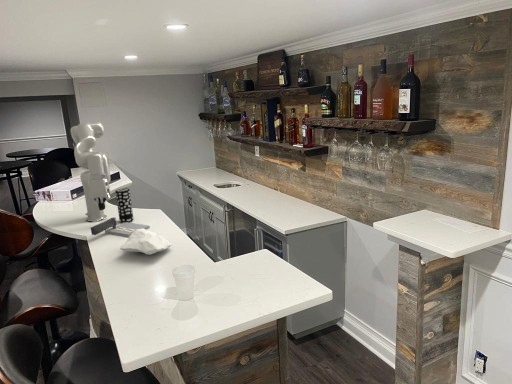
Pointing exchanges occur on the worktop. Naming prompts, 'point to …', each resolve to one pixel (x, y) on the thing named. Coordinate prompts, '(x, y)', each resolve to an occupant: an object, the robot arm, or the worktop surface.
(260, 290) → the worktop surface
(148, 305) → the worktop surface
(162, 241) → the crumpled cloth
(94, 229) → the swing arm
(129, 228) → the label panel
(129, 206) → the white-spotted black cylinder
